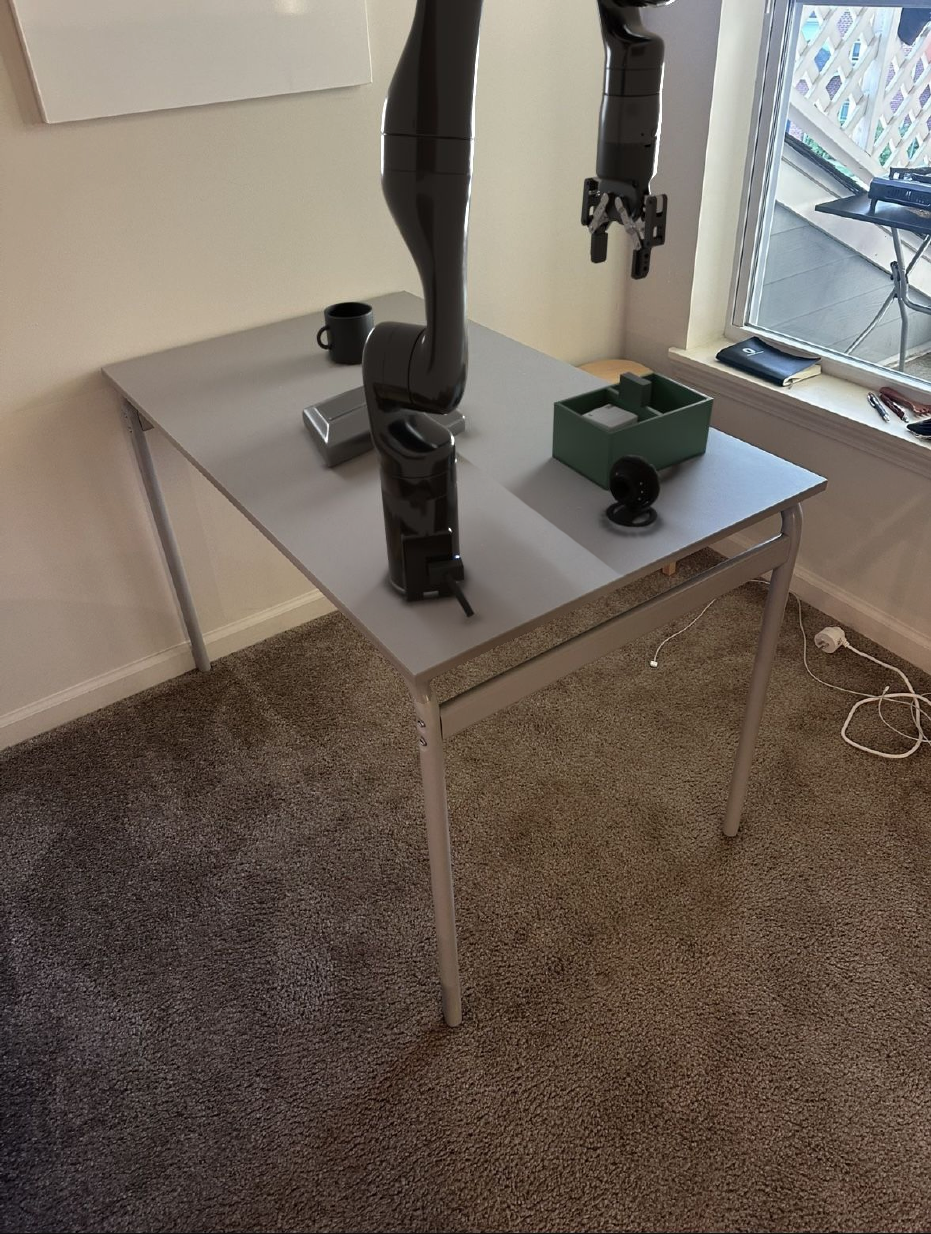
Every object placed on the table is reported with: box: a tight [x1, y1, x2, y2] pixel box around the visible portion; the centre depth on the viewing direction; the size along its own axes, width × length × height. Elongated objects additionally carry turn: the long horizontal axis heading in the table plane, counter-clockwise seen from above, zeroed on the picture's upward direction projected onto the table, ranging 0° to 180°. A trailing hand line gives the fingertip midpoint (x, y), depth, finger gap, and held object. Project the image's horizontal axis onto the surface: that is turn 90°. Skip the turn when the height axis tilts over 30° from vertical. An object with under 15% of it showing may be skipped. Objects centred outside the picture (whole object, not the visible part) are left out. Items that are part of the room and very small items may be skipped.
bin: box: [551, 371, 714, 491], centre depth 136 cm, size 20×13×12 cm, turn 123°
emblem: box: [301, 385, 466, 468], centre depth 149 cm, size 28×5×28 cm
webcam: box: [605, 455, 661, 528], centre depth 123 cm, size 8×8×10 cm
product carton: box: [582, 404, 638, 432], centre depth 135 cm, size 6×6×7 cm
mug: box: [316, 301, 375, 365], centre depth 175 cm, size 9×12×9 cm
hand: (618, 270), depth 120 cm, fingers open, 8 cm apart
